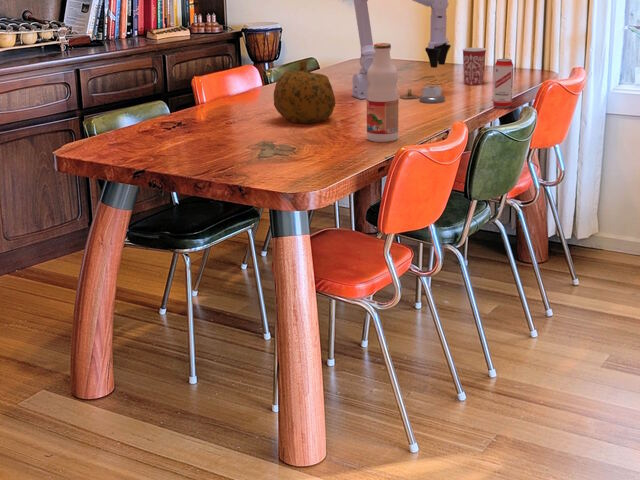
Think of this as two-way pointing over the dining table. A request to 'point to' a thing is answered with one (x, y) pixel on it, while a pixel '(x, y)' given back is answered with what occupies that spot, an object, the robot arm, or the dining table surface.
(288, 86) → the decorative pumpkin
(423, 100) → the hub
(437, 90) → the square tube sleeve
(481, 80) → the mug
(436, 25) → the robot arm
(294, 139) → the dining table surface
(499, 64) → the beer can
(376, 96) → the fruit juice
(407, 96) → the stand
